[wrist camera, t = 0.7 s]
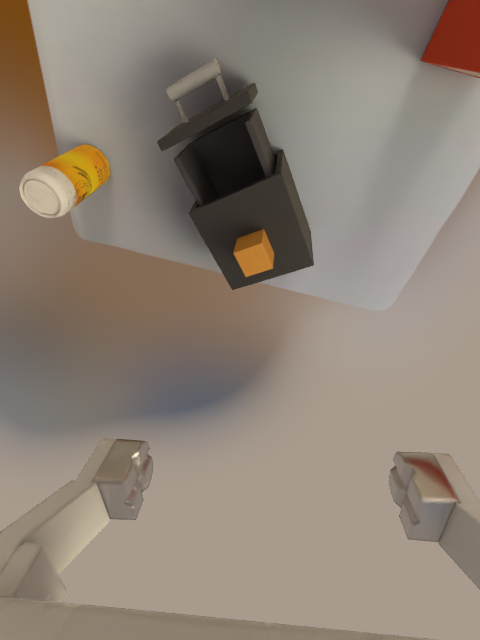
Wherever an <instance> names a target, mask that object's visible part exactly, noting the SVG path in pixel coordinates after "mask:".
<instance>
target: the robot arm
mask: <svg viewBox="0 0 480 640" xmlns="http://www.w3.org/2000/svg"><path fill="white" fill-rule="evenodd" d="M148 451H149V445H148V442H147V441H137V440H124V439H106V438H104V439H103V440H101V441H100V442H99V444H98V445H97V447H96V448H95V450H94V452H93V453H92V455H91V457H90V458H89V460H88V462H87V463H86V465H85V466H84V468H83V469H82V471H81V473H80V474H79V476H78V478H77V479H76V481H70V482H69V483H67V484H66V485H65V486H63V487H62V488H60V489H59V490H58V491H56V492H55V493H53V494H52V495H51V496H49V497H48V498H46V499H45V500H44V501H42V502H41V503H39V504H38V505H37V506H35V507H34V508H32V509H31V510H30V511H28V512H27V513H25V514H24V515H23V516H21V517H20V518H19V519H17V520H16V521H14V522H13V523H12V524H10V525H9V526H8V527H6V528H5V529H3V530H2V531H1V532H0V640H436V639H426V638H416V637H406V636H396V635H386V634H375V633H366V632H356V631H345V630H335V629H325V628H316V627H306V626H296V625H286V624H276V623H266V622H256V621H246V620H236V619H235V620H234V619H226V618H215V617H206V616H195V615H185V614H175V613H165V612H155V611H145V610H135V609H125V608H115V607H105V606H95V605H84V604H75V603H64V602H63V601H64V599H65V596H66V594H67V592H66V588H65V586H64V584H63V583H62V581H61V579H60V578H59V576H58V575H59V573H61V572H62V571H63V570H64V568H65V567H66V566H67V565H68V564H69V563H70V562H71V561H72V560H73V559H74V558H75V557H76V556H77V555H78V554H79V553H80V552H81V551H82V550H83V549H84V548H85V547H86V546H87V545H88V543H89V542H90V541H91V540H92V539H93V538H94V537H95V536H96V535H97V534H98V533H99V532H100V531H101V530H102V529H103V528H104V527H105V526H106V525H107V523H109V522H110V519H122V520H123V519H124V520H136V518H137V516H138V513H139V510H140V508H141V505H142V503H143V496H142V492H143V491H144V490H146V489H147V488H148V487H149V484H150V481H151V478H152V473H153V461H152V458H151V456H149V455H148V454H147V453H148ZM393 460H394V463H395V465H396V466H395V467H394V468H392V469H391V470H390V476H389V485H390V490H391V494H392V497H393V500H394V502H395V503H396V504H397V505H398V506H399V507H400V508H401V512H400V516H399V517H400V519H401V522H402V525H403V527H404V530H405V533H406V536H407V538H408V539H411V540H421V541H431V542H439V545H440V546H441V547H442V548H443V549H444V550H445V551H446V553H447V554H448V555H449V556H450V557H451V558H452V559H453V560H454V562H455V563H456V564H457V565H458V566H459V567H460V568H461V569H462V570H463V572H464V573H465V574H466V575H467V576H468V577H469V578H470V579H471V580H472V581H473V583H474V584H475V585H476V586H477V587H478V588H479V589H480V501H479V499H478V498H477V496H476V495H475V493H474V491H473V490H472V488H471V486H470V485H469V483H468V481H467V480H466V478H465V477H464V475H463V473H462V472H461V470H460V469H459V467H458V465H457V464H456V462H455V461H454V459H453V457H452V456H451V455H449V454H441V453H421V452H397V453H396V454H395V456H394V459H393Z"/></svg>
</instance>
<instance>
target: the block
mask: <svg viewBox="0 0 480 640" xmlns="http://www.w3.org/2000/svg"><path fill="white" fill-rule="evenodd" d="M233 254H234V255H235V257H236V259H237V261H238V263H239V265H240V267H241V269H242V271H243V273H244V275H245V277H248V276H251V275H254V274H257V273H260V272H263V271H267V270H270V269H273V262H274V251H273V249H272V247H271V244H270V242H269V240H268V237H267V235H266V233H265V231H264V229H262V230H259V231H256V232H254V233H251V234H248V235H246V236H243V237H240V238H238V239H237V242H236V245H235V249H234V253H233Z"/></svg>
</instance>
